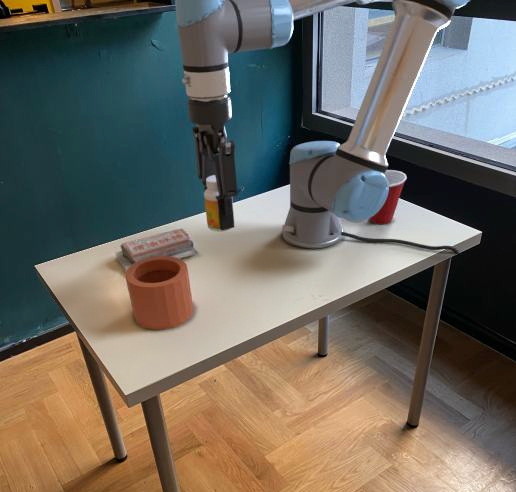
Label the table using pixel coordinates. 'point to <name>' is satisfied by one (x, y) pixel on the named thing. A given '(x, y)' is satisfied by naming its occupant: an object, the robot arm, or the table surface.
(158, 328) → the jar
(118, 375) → the table surface
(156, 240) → the packaged product
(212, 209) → the supplement bottle
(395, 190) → the plastic cup
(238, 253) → the table surface
